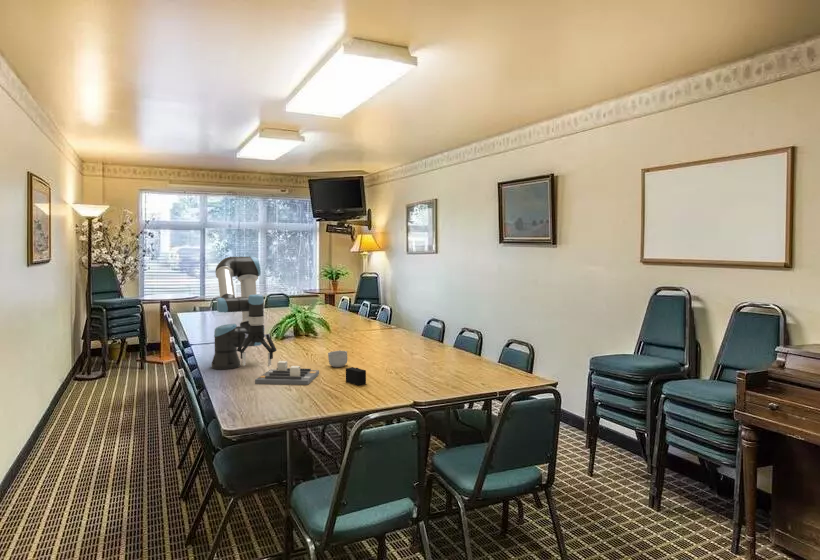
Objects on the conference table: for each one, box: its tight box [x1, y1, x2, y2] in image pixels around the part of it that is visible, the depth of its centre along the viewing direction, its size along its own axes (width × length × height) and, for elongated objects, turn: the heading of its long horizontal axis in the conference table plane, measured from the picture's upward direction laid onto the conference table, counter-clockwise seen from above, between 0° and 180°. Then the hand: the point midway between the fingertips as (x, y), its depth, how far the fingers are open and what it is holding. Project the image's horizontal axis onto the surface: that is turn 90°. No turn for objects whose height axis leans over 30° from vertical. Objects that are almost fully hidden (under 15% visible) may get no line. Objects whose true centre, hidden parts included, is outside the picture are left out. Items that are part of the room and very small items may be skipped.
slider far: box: [276, 360, 288, 371], centre depth 262 cm, size 4×4×5 cm
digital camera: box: [345, 366, 367, 387], centre depth 248 cm, size 10×5×7 cm, turn 47°
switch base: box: [254, 367, 320, 386], centre depth 256 cm, size 26×22×3 cm
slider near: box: [289, 365, 301, 376], centre depth 250 cm, size 4×4×5 cm
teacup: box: [327, 350, 348, 368], centre depth 286 cm, size 14×11×8 cm
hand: (256, 365), depth 263 cm, fingers open, 13 cm apart
